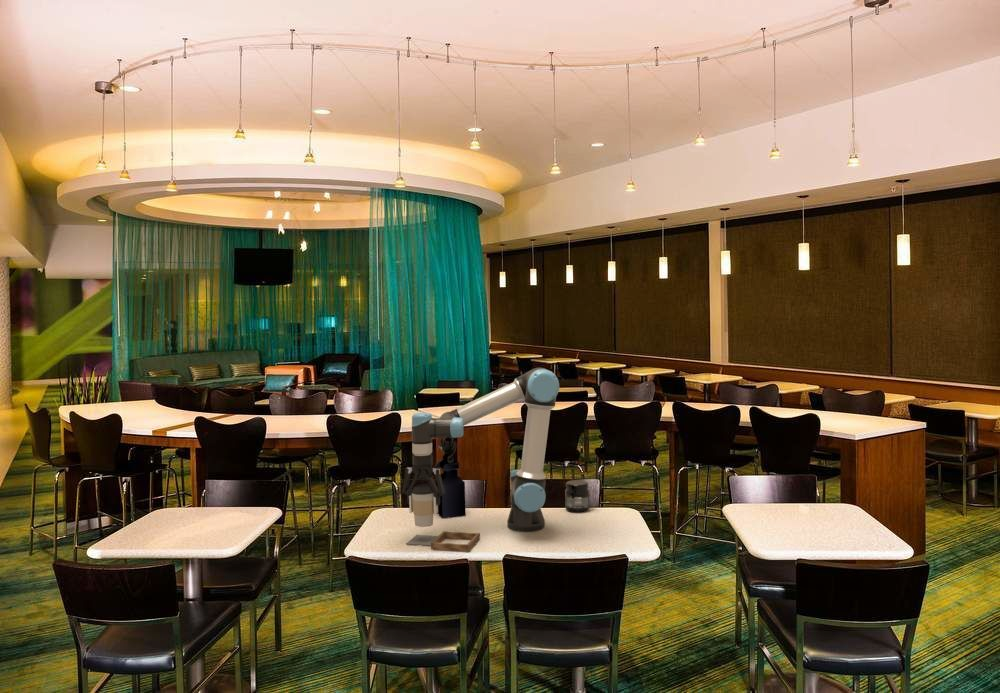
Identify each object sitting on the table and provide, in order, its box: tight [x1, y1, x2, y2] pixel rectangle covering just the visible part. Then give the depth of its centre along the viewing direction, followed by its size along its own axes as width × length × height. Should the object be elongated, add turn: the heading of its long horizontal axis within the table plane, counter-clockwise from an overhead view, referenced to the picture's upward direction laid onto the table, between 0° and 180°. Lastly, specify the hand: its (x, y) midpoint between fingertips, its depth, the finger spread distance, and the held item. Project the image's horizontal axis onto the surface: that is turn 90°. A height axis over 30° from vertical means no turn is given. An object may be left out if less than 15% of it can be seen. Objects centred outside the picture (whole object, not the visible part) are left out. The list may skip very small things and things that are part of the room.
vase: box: [434, 438, 467, 520], centre depth 312 cm, size 14×12×35 cm
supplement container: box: [564, 479, 590, 514], centre depth 314 cm, size 10×10×12 cm
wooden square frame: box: [430, 530, 481, 553], centre depth 271 cm, size 14×14×2 cm
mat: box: [405, 534, 439, 547], centre depth 276 cm, size 11×11×1 cm
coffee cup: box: [411, 483, 435, 528], centre depth 275 cm, size 9×9×15 cm
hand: (423, 512), depth 275 cm, fingers closed on coffee cup, 9 cm apart
